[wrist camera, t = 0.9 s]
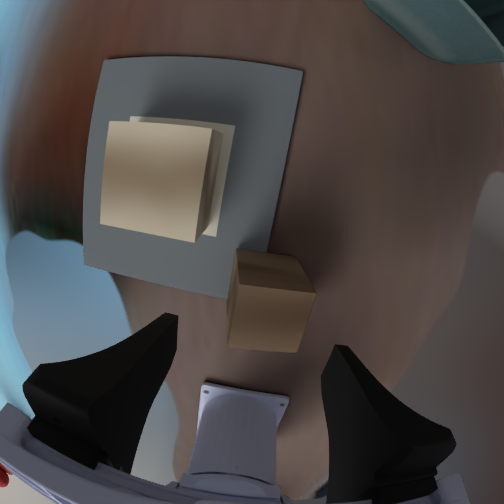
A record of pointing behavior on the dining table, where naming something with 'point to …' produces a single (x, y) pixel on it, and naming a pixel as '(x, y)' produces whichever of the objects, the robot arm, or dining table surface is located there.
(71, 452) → the robot arm
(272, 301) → the walnut block
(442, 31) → the flower pot
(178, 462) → the dining table surface
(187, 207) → the base block
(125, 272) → the build mat
